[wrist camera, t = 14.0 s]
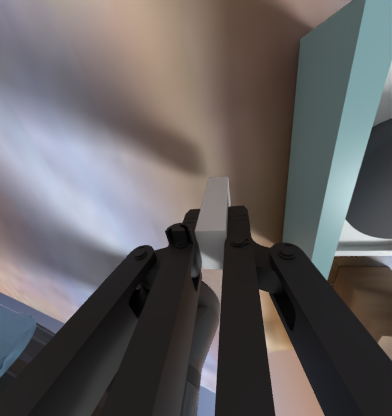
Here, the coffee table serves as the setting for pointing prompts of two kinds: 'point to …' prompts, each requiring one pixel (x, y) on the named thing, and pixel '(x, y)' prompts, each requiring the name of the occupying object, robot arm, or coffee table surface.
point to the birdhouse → (337, 129)
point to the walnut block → (369, 300)
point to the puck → (374, 186)
